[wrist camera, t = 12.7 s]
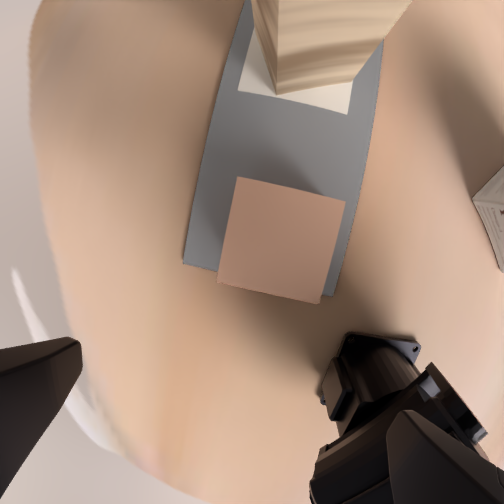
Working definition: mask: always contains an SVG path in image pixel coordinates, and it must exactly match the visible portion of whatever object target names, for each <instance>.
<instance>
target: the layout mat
mask: <svg viewBox="0 0 504 504" xmlns="http://www.w3.org/2000/svg"><path fill="white" fill-rule="evenodd" d="M383 41H384V39H383V40H382V42H381V43H380V44H379V45H378V47H377V48H376V49H375V51H374V52H373V53H372V55H371V56H370V58H369V59H368V60H367V62H366V63H365V64H364V66H363V67H362V68H361V70H360V71H359V72H358V74H357V75H356V76H355V78H354V79H353V80H352V82H349V83H342V84H335V85H329V86H323V87H317V88H311V89H306V90H301V91H295V92H291V93H286V94H281V95H277V96H276V93H275V90H274V87H273V84H272V81H271V77H270V74H269V71H268V68H267V65H266V62H265V59H264V56H263V53H262V51H261V48H260V45H259V42H258V39H257V36H256V33H255V26H254V18H253V11H252V3H251V0H245V2H244V5H243V8H242V11H241V14H240V18H239V21H238V24H237V27H236V30H235V34H234V37H233V40H232V44H231V47H230V51H229V54H228V58H227V61H226V65H225V68H224V72H223V76H222V79H221V83H220V87H219V91H218V95H217V99H216V102H215V106H214V110H213V115H212V119H211V123H210V127H209V131H208V136H207V140H206V144H205V149H204V153H203V158H202V162H201V167H200V172H199V177H198V181H197V186H196V191H195V196H194V202H193V207H192V212H191V218H190V223H189V229H188V234H187V240H186V246H185V252H184V258H183V264H187V265H191V266H196V267H200V268H204V269H208V270H213V271H217V272H218V269H219V264H220V259H221V254H222V249H223V244H224V239H225V234H226V229H227V224H228V219H229V214H230V209H231V204H232V200H233V195H234V190H235V186H236V181H237V176H238V177H243V178H248V179H253V180H258V181H262V182H267V183H272V184H276V185H280V186H285V187H289V188H294V189H298V190H302V191H306V192H310V193H314V194H318V195H322V196H326V197H330V198H334V199H338V200H342V201H345V202H346V203H345V207H344V212H343V216H342V220H341V224H340V228H339V232H338V236H337V240H336V244H335V248H334V252H333V255H332V259H331V263H330V267H329V270H328V274H327V277H326V281H325V284H324V288H323V291H322V295H326V296H331V297H333V294H334V291H335V287H336V284H337V281H338V277H339V274H340V270H341V266H342V263H343V259H344V256H345V252H346V248H347V244H348V240H349V236H350V233H351V229H352V224H353V220H354V216H355V212H356V208H357V203H358V199H359V194H360V190H361V185H362V181H363V176H364V171H365V166H366V161H367V156H368V150H369V145H370V139H371V134H372V128H373V122H374V115H375V109H376V102H377V95H378V87H379V79H380V71H381V62H382V52H383Z"/></svg>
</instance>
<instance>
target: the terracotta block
mask: <svg viewBox="0 0 504 504" xmlns="http://www.w3.org/2000/svg"><path fill="white" fill-rule="evenodd" d="M345 203H346V202H345V201H342V200H338V199H334V198H330V197H326V196H322V195H318V194H314V193H310V192H306V191H302V190H298V189H294V188H289V187H285V186H280V185H276V184H272V183H267V182H262V181H258V180H253V179H248V178H243V177H238V176H237V181H236V186H235V190H234V195H233V200H232V204H231V209H230V214H229V219H228V224H227V229H226V234H225V239H224V244H223V249H222V254H221V259H220V264H219V269H218V275H217V280H216V282H218V283H222V284H227V285H231V286H235V287H240V288H244V289H249V290H253V291H258V292H262V293H267V294H271V295H276V296H280V297H285V298H290V299H295V300H299V301H304V302H309V303H314V304H319V302H320V298H321V295H322V291H323V288H324V284H325V281H326V277H327V274H328V270H329V267H330V263H331V259H332V255H333V252H334V248H335V244H336V240H337V236H338V232H339V228H340V224H341V220H342V216H343V212H344V207H345Z"/></svg>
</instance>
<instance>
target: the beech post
mask: <svg viewBox="0 0 504 504" xmlns="http://www.w3.org/2000/svg"><path fill="white" fill-rule="evenodd" d="M412 1H413V0H251V3H252V11H253V18H254V26H255V33H256V36H257V39H258V42H259V45H260V48H261V51H262V53H263V56H264V59H265V62H266V65H267V68H268V71H269V74H270V77H271V81H272V84H273V87H274V90H275V93H276V96H277V95H281V94H286V93H291V92H295V91H301V90H306V89H311V88H317V87H323V86H329V85H335V84H342V83H349V82H352V80H353V79H354V78H355V76H356V75H357V74H358V72H359V71H360V70H361V68H362V67H363V66H364V64H365V63H366V62H367V60H368V59H369V58H370V56H371V55H372V53H373V52H374V51H375V49H376V48H377V47H378V45H379V44H380V43H381V42H382V40H383V39H384V38H385V36H386V35H387V34H388V32H389V31H390V30H391V28H392V27H393V26H394V24H395V23H396V22H397V20H398V19H399V18H400V16H401V15H402V14H403V13H404V11H405V10H406V9H407V7H408V6H409V5H410V3H411V2H412Z"/></svg>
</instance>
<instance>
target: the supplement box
mask: <svg viewBox="0 0 504 504" xmlns="http://www.w3.org/2000/svg"><path fill="white" fill-rule="evenodd" d="M472 201H473V203H474V205H475V207H476V209H477V210H478V212H479V215H480V217H481V219H482V221H483V223H484V225H485V228H486V230H487V233H488V235H489V238H490V241H491V243H492V246H493V249H494V252H495V255H496V258H497V261H498V264H499V268H500V271H501V272H502V273H504V166H503V167H502V168H501V169H500V170H499V171H498V172H497V173H496V174H495V175H494V176H493V177H492V178H491V179H490V180H489V182H488V183H486V184H485V185H484V187H483V188H482V189H481V190H479V191H478V192H477V193H476V195H475V196H474V197H473V198H472Z"/></svg>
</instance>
